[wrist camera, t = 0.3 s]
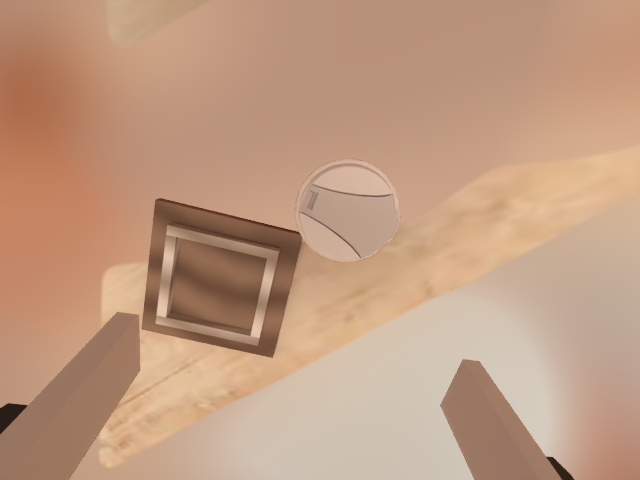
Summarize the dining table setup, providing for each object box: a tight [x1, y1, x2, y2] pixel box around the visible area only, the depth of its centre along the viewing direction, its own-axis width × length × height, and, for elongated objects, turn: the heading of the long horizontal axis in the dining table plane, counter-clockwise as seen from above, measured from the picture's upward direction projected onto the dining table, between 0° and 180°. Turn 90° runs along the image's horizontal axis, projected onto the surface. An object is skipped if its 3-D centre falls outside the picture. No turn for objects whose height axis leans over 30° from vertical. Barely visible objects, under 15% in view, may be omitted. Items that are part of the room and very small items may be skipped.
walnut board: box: [142, 199, 302, 358], centre depth 39 cm, size 18×18×2 cm
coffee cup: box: [295, 159, 400, 262], centre depth 30 cm, size 8×8×15 cm
